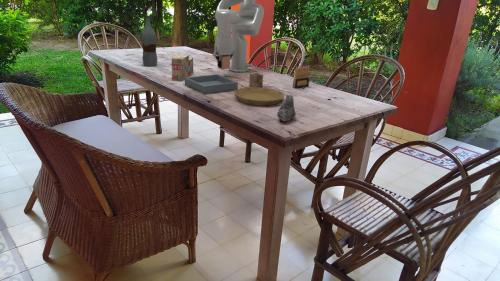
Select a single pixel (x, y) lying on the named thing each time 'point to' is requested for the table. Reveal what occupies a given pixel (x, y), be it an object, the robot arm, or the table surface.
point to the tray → (211, 84)
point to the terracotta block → (225, 62)
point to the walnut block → (256, 80)
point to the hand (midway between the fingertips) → (223, 66)
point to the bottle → (149, 45)
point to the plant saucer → (259, 96)
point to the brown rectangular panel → (301, 77)
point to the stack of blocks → (181, 67)
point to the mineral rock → (287, 109)
